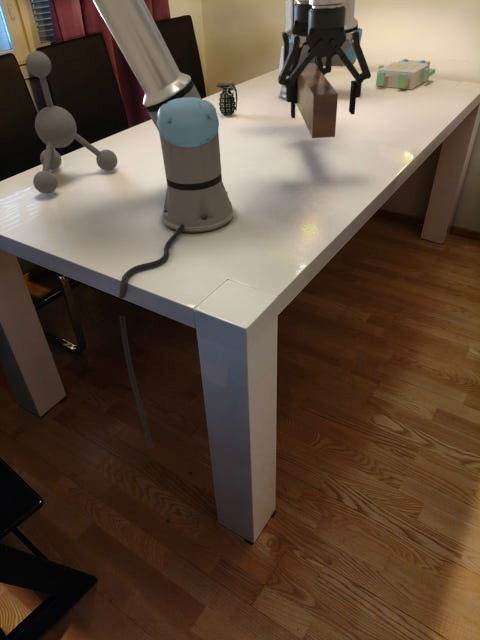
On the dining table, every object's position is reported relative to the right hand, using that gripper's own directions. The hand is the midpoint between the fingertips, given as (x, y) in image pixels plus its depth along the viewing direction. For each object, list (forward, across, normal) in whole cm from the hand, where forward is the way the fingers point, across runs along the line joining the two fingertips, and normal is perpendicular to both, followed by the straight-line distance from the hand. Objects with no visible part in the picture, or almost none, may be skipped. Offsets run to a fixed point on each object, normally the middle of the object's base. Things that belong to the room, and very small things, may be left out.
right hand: (305, 101), depth 135 cm
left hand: (-3, 0, +26) cm, 26 cm away
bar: (0, 0, +13) cm, 13 cm away
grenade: (+12, +22, -35) cm, 43 cm away
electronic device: (+12, -8, -89) cm, 90 cm away
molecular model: (+12, +63, +15) cm, 65 cm away
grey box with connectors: (+12, -48, -66) cm, 83 cm away
